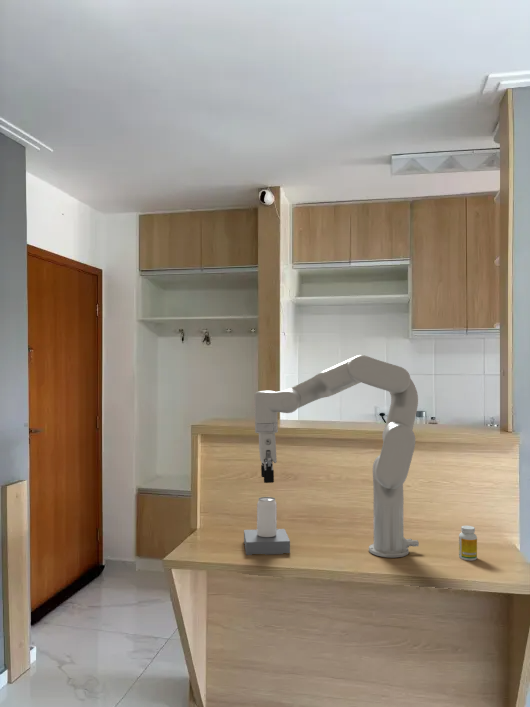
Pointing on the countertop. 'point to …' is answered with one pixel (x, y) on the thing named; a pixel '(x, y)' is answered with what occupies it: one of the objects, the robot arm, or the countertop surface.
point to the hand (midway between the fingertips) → (267, 479)
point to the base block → (266, 543)
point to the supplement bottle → (468, 543)
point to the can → (266, 517)
